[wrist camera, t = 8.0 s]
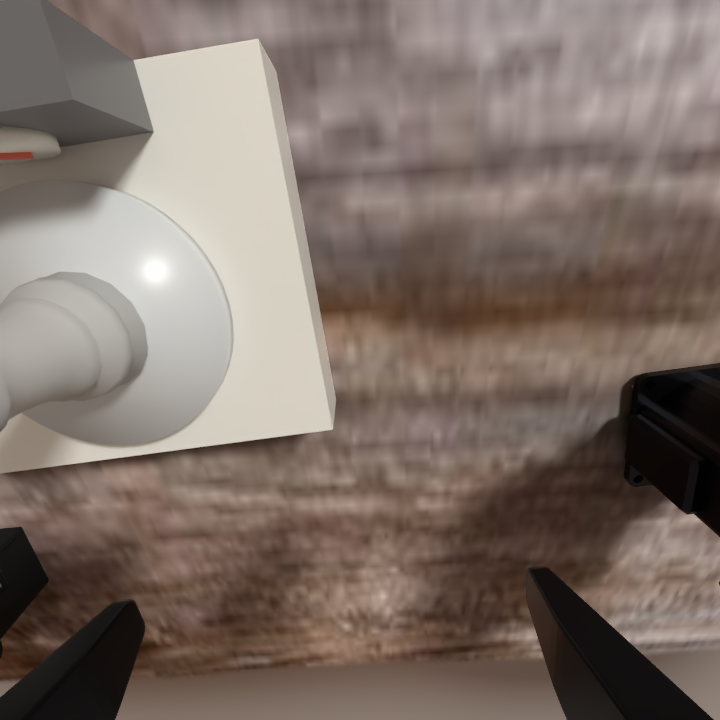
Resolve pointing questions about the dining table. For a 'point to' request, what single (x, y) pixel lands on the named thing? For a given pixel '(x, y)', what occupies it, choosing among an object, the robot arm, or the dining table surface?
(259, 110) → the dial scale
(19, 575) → the digital camera
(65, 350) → the rook chess piece
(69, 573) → the dining table surface
